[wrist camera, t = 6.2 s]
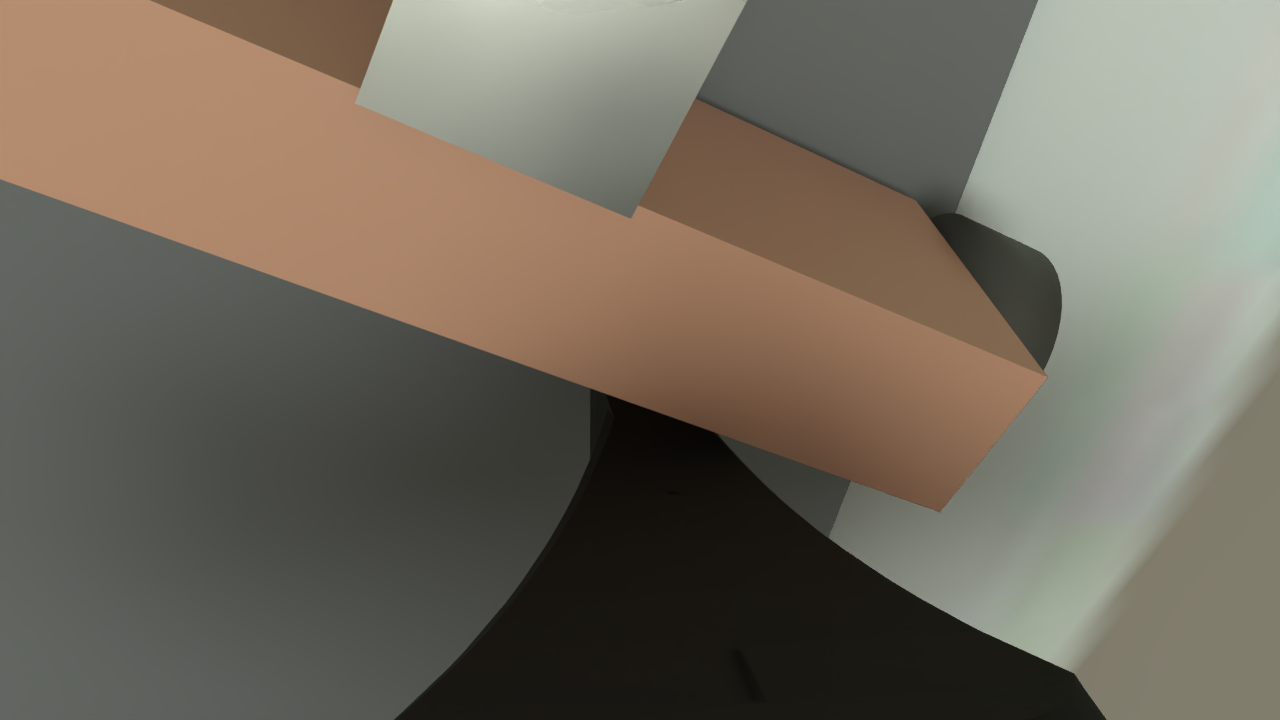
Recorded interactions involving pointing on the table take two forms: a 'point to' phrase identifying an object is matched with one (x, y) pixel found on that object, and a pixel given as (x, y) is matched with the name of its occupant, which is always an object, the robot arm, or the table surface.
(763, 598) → the robot arm
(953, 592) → the table surface
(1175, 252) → the table surface
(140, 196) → the tan rectangular bar
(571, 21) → the latch block
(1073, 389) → the table surface
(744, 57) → the mat
